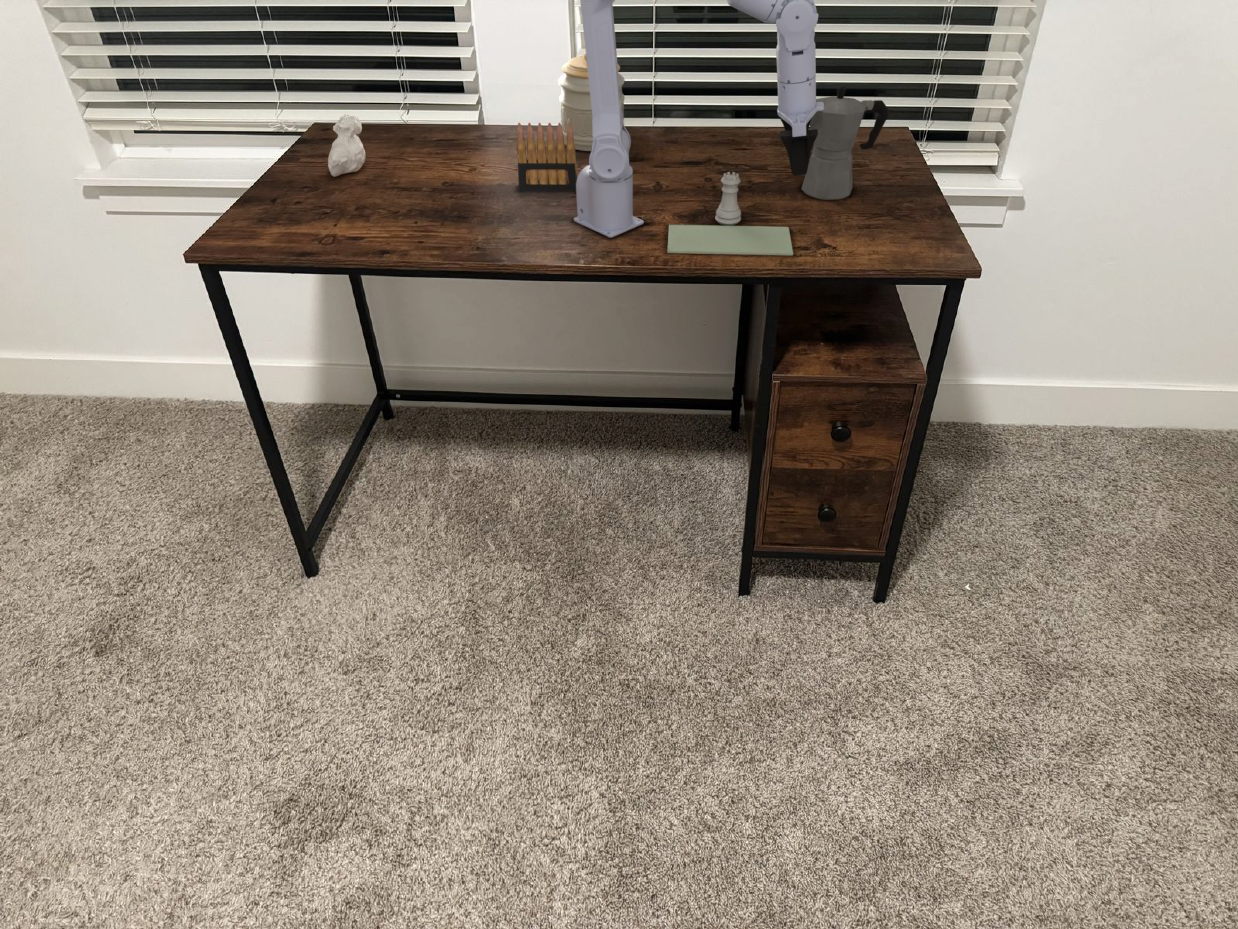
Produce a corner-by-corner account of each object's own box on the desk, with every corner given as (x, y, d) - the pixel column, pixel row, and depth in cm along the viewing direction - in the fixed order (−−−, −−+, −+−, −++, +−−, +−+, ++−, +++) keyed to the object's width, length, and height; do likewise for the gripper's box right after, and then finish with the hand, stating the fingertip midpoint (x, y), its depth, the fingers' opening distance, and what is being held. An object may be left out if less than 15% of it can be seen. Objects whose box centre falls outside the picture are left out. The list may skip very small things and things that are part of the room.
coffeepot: (795, 201, 157) (808, 96, 145) (785, 180, 164) (797, 78, 152) (881, 199, 157) (901, 94, 146) (868, 178, 164) (886, 76, 153)
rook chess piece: (724, 212, 154) (727, 167, 149) (746, 219, 152) (750, 173, 146) (709, 221, 151) (712, 175, 146) (731, 228, 149) (734, 182, 144)
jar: (624, 152, 176) (624, 57, 164) (559, 152, 176) (554, 58, 164) (625, 129, 185) (624, 38, 174) (563, 129, 186) (558, 38, 174)
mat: (667, 252, 142) (667, 250, 142) (668, 226, 150) (668, 224, 150) (793, 255, 141) (793, 253, 141) (788, 228, 149) (788, 226, 148)
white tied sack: (344, 193, 167) (370, 146, 161) (307, 168, 165) (333, 120, 159) (362, 168, 176) (388, 123, 170) (327, 145, 174) (352, 98, 168)
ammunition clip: (578, 186, 163) (575, 120, 155) (577, 190, 162) (574, 124, 154) (520, 186, 163) (514, 120, 156) (518, 190, 162) (513, 124, 154)
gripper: (826, 89, 128) (827, 180, 137) (820, 59, 139) (821, 144, 147) (777, 95, 129) (780, 185, 138) (774, 64, 140) (778, 149, 149)
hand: (798, 164), depth 143 cm, fingers open, 7 cm apart
